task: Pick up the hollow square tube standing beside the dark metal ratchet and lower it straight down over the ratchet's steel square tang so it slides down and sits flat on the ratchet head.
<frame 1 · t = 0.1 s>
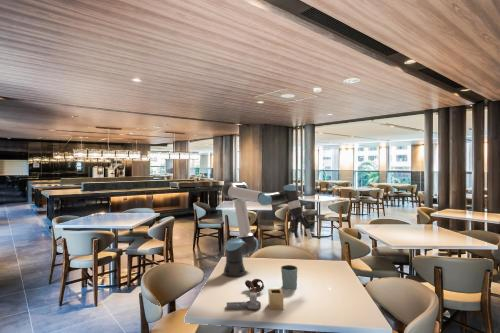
hand: (304, 240, 187), 28 cm above the table, tool tilted 20°, fingers open, 13 cm apart
ratchet: (241, 307, 157), on the table
grey green cup: (289, 287, 184), on the table
ring-shaped clay flask: (254, 291, 178), on the table
hollow square tube: (275, 306, 158), on the table
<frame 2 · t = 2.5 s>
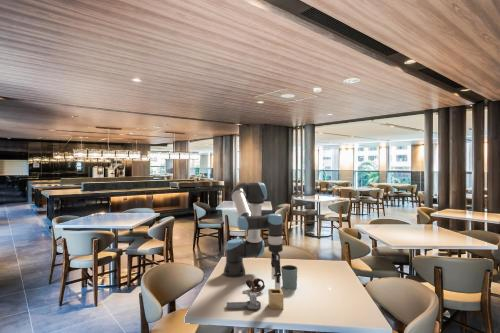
hand: (275, 283, 157), 12 cm above the table, tool pointing down, fingers open, 13 cm apart
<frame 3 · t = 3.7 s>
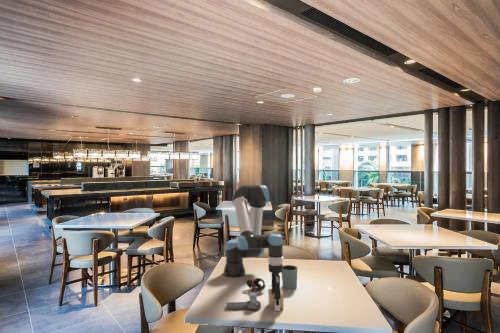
hand: (275, 306, 158), 0 cm above the table, tool pointing down, fingers open, 10 cm apart
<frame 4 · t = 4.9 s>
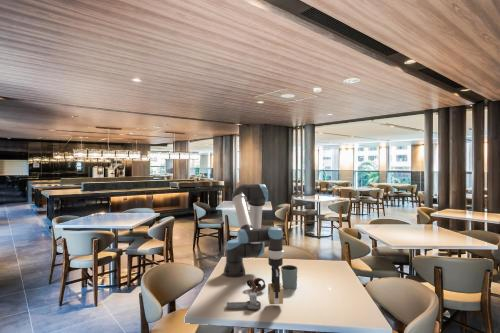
hand: (275, 300, 158), 3 cm above the table, tool pointing down, fingers closed on hollow square tube, 7 cm apart
hollow square tube: (275, 300, 158), point 3 cm above the table, touching gripper
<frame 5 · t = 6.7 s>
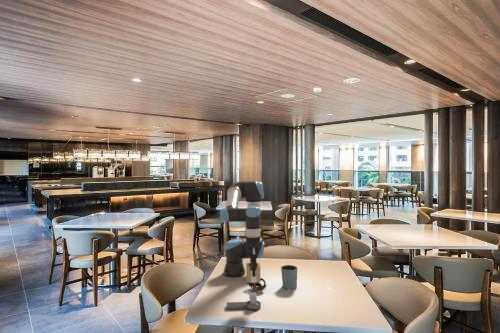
hand: (253, 279, 157), 15 cm above the table, tool pointing down, fingers closed on hollow square tube, 7 cm apart
hollow square tube: (253, 280, 157), point 14 cm above the table, touching gripper
when the fingers open (3 cm above the table, at t = 8.8 s): hollow square tube stays where it is, resting on ratchet.
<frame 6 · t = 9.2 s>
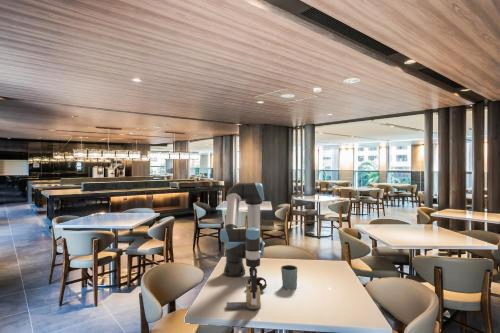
hand: (253, 298, 157), 4 cm above the table, tool pointing down, fingers open, 12 cm apart
hollow square tube: (253, 303, 157), point 2 cm above the table, touching ratchet
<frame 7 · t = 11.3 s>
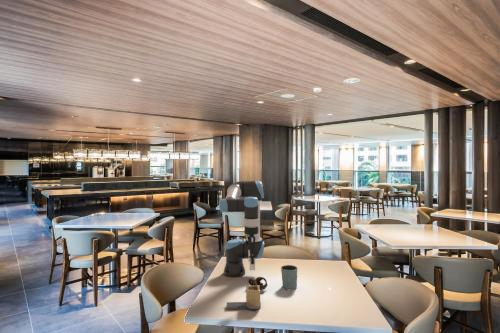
hand: (251, 265, 159), 21 cm above the table, tool pointing down, fingers open, 13 cm apart
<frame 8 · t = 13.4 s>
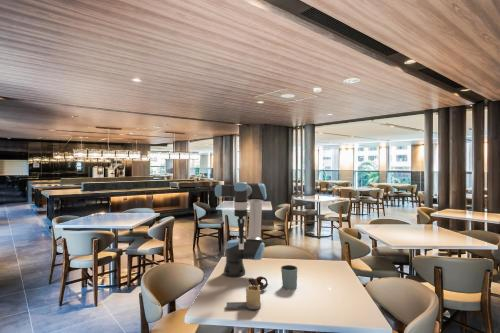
hand: (241, 246, 171), 29 cm above the table, tool pointing down, fingers open, 13 cm apart
at the end: hollow square tube 0.0 cm from the target spot on the ratchet, point 2.0 cm above the ratchet's base; hollow square tube tilted 0°; the gripper is holding nothing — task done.
